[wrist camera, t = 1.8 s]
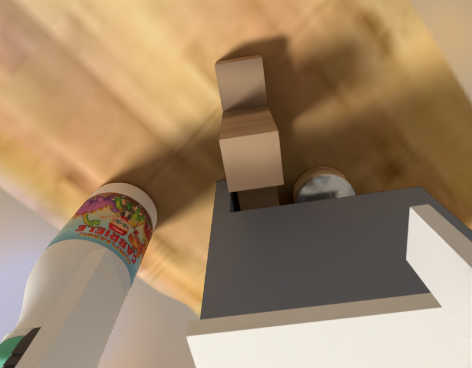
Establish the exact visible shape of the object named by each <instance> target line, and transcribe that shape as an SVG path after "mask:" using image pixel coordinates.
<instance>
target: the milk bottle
mask: <svg viewBox="0 0 472 368" xmlns="http://www.w3.org/2000/svg"><path fill="white" fill-rule="evenodd" d="M156 222H157V211H156V208H155V205H154V203H153V201H152V200H151V198H150V197H149V196H148V195H147V194H146V193H145V192H144V191H143V190H141V189H140V188H138V187H136V186H134V185H130V184H127V183H110V184H106V185H104V186H101V187H100V188H98V189H97V190H96V191H95V192H94V193H93V194H92V195H91V196H90V197H89V198H88V199H87V200H86V201H85V203H84V204H83V205H82V206H81V207H80V208H79V210H78V211H77V212H76V213H75V214H74V216H73V217H72V218H71V219H70V220H69V221H68V223H67V224H66V225H65V226H64V227H63V229H62V230H61V231H60V232H59V233H58V235H57V236H56V237H55V238H54V239H53V241H52V242H51V243H50V244H49V246H48V247H47V248H46V249H45V251H44V252H43V253H42V255H41V256H40V258H39V259H38V261H37V262H36V264H35V265H34V267H33V269H32V271H31V273H30V275H29V278H28V281H27V284H26V288H25V294H24V301H23V307H22V312H21V315H20V318H19V321H18V324H17V326H16V328H15V330H14V331H12V332H10V333H8V334H7V335H6V336H5V337H4V338H3V340H2V342H1V344H0V368H2V366H3V364H4V363H5V361H6V360H7V359H8V358H9V357H10V354H11V353H12V351H13V350H14V348H15V347H16V346H17V344H18V343H19V341H20V340H21V339H22V338H23V337H24V336H26V335H27V334H28V333H29V332H30V331H31V330H32V329H33V328H38V327H42V325H43V324H44V322H45V321H46V319H47V318H48V316H49V315H50V313H51V312H52V310H53V309H54V307H55V305H56V304H57V302H58V301H59V299H60V298H61V296H62V295H63V293H64V292H65V290H66V289H67V287H68V286H69V284H70V282H71V281H72V279H73V278H74V276H75V275H76V273H77V272H78V270H79V269H80V267H81V266H82V264H83V263H84V261H85V259H86V258H87V256H88V255H89V253H90V252H91V251H94V250H101V249H108V251H109V253H110V256H111V258H112V261H113V263H114V266H115V268H116V271H117V273H118V276H119V279H120V281H121V284H122V286H123V289H124V291H125V294H126V296H127V293H128V291H129V289H130V287H131V285H132V283H133V281H134V278H135V276H136V273H137V271H138V269H139V266H140V264H141V261H142V259H143V257H144V254H145V252H146V249H147V247H148V244H149V242H150V239H151V237H152V234H153V231H154V229H155V226H156ZM125 298H126V297H125Z"/></svg>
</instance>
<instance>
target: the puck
mask: <svg viewBox="0 0 472 368" xmlns="http://www.w3.org/2000/svg"><path fill="white" fill-rule="evenodd" d="M354 195H355V192H354V189H353V188H352V186H351V185H350V184H349V182H348V181H347V179H346V178H345V177H344V175H343V174H342V173H341V172H340V171H338V170H337V169H335V168H332V167H328V166H319V167H314V168H311V169H309V170H307V171H306V172H304V173H303V174H302V175H301V176H300V177H299V178H298V179H297V181H296V183H295V185H294V188H293V198H294V201H295V204H296V203H303V202H311V201H318V200H325V199H332V198H340V197H347V196H354Z"/></svg>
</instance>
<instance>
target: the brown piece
mask: <svg viewBox="0 0 472 368" xmlns="http://www.w3.org/2000/svg"><path fill="white" fill-rule="evenodd" d="M215 70H216V75H217V81H218V87H219V92H220V98H221V103H222V109H223V115H222V122H221V129H220V135H219V143H220V149H221V154H222V159H223V165H224V170H225V175H226V180H227V186H228V191H229V192H235V191H237V194H238V199H239V205H240V211H246V210H253V209H260V208H267V207H275V206H279V198H278V189H277V185H284V180H283V171H282V161H281V152H280V142H279V133H278V129H277V126H276V124H275V122H274V119H273V117H272V114H271V112H270V109H269V107H268V104H267V95H266V86H265V78H264V69H263V61H262V56H261V55H260V54H258V55H252V56H246V57H240V58H234V59H228V60H222V61H217V62H216V63H215Z"/></svg>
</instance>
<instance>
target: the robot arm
mask: <svg viewBox="0 0 472 368" xmlns="http://www.w3.org/2000/svg"><path fill="white" fill-rule="evenodd" d="M406 260H407V261H408V263H409V264H410V265H411V267H412V268H413V269H414V271H415V272H416V273H417V274H418V276H419V277H420V278H421V280H422V281H423V282H424V284H425V285H426V286H427V288H428V289H429V290H430V292H431V293H432V294H433V296H434V297H435V298H436V300H437V301H438V302H439V304H440V305H441V306H442V307H443V309H444V310H445V311H446V313H447V314H448V315H449V317H450V318H451V319H452V321H453V322H454V323H455V325H456V326H457V327H458V329H459V330H460V331H461V333H462V334H463V335H464V337H465V338H466V339H467V340H468V342H469V343H470V344H471V346H472V242H471V241H470V240H469V239H468V238H466V237H465V236H464V235H463V234H462V233H461V232H460V231H459V230H457V229H456V228H455V227H454V226H453V225H452V224H451V223H449V222H448V221H447V220H446V219H445V218H444V217H443V216H442V215H440V214H439V213H438V212H437V211H436V210H435V209H434V208H432V207H431V206H430V205H429V204H426V205H419V206H411V207H410V212H409V226H408V240H407V254H406ZM125 297H126V294H125V291H124V289H123V286H122V284H121V281H120V279H119V276H118V273H117V271H116V268H115V266H114V263H113V261H112V258H111V256H110V253H109V251H108V249H101V250H94V251H91V252H90V253H89V255H88V256H87V258H86V259H85V261H84V263H83V264H82V266H81V267H80V269H79V270H78V272H77V273H76V275H75V276H74V278H73V279H72V281H71V282H70V284H69V286H68V287H67V289H66V290H65V292H64V293H63V295H62V296H61V298H60V299H59V301H58V302H57V304H56V305H55V307H54V309H53V310H52V312H51V313H50V315H49V316H48V318H47V319H46V321H45V322H44V324H43V325H42V327H38V328H33V329H32V330H31V331H30V332H29V333H28V334H27V335H26V336H24V337H23V338H22V339H21V340H20V341H19V343H18V344H17V346H16V347H15V348H14V350H13V351H12V353H11V354H10V357H9V358H8V359H7V360H6V361H5V363H4V364H3V366H2V368H97V366H98V363H99V361H100V358H101V356H102V354H103V351H104V349H105V346H106V344H107V341H108V339H109V336H110V334H111V332H112V329H113V327H114V324H115V322H116V319H117V317H118V314H119V312H120V309H121V307H122V304H123V302H124V300H125Z"/></svg>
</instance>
